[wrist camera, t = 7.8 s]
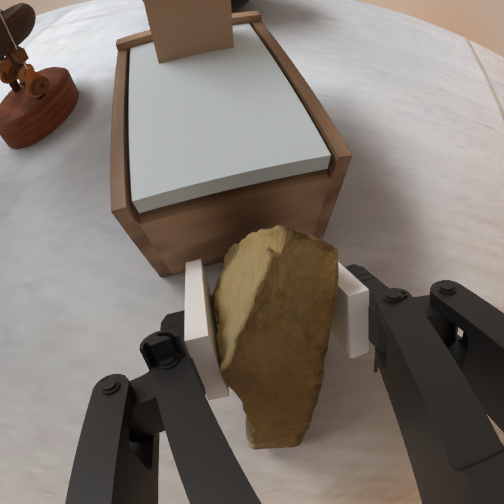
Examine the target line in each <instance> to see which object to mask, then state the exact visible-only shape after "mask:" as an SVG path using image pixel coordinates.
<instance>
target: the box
mask: <svg viewBox="0 0 504 504" xmlns="http://www.w3.org/2000/svg"><path fill="white" fill-rule="evenodd" d="M247 23H249V24H250V26H251V27H252V28H253V30H254V31H255V33H256V34H257V35H258V37H259V38H260V40H261V41H262V43H263V44H264V46H265V47H266V48H267V50H268V51H269V53H270V54H271V56H272V57H273V59H274V60H275V62H276V63H277V65H278V66H279V68H280V70H281V71H282V73H283V74H284V76H285V77H286V79H287V80H288V82H289V84H290V85H291V87H292V88H293V90H294V92H295V93H296V95H297V97H298V98H299V100H300V101H301V103H302V105H303V107H304V108H305V110H306V112H307V113H308V115H309V117H310V118H311V120H312V122H313V124H314V125H315V127H316V129H317V131H318V132H319V134H320V136H321V138H322V140H323V141H324V143H325V145H326V147H327V149H328V150H329V152H330V154H331V157H330V161H329V165H328V168H327V169H323V170H318V171H313V172H308V173H303V174H298V175H293V176H288V177H284V178H279V179H274V180H270V181H265V182H261V183H256V184H252V185H247V186H243V187H239V188H234V189H230V190H226V191H222V192H218V193H214V194H210V195H206V196H202V197H198V198H194V199H190V200H186V201H182V202H178V203H175V204H171V205H167V206H163V207H160V208H156V209H153V210H149V211H145V212H142V213H139V212H138V211H137V209H136V207H135V206H134V204H133V202H132V194H131V178H130V156H129V69H130V49H131V48H133V47H136V46H140V45H143V44H147V43H150V42H153V38H152V34H151V30H148V31H144V32H141V33H137V34H134V35H131V36H127V37H124V38H121V39H118V40H117V42H116V46H117V49H118V55H117V64H116V73H115V83H114V95H113V109H112V128H111V212H112V213H113V214H114V216H115V217H116V219H117V220H118V221H119V223H120V224H121V226H122V227H123V228H124V230H125V231H126V232H127V234H128V235H129V236H130V238H131V239H132V240H133V242H134V243H135V244H136V246H137V247H138V248H139V250H140V251H141V252H142V254H143V255H144V256H145V258H146V259H147V260H148V261H149V263H150V264H151V265H152V267H153V268H154V269H155V270H156V272H157V273H158V274H159V275H160V277H164V276H168V275H172V274H176V273H180V272H184V271H186V263H187V262H191V261H195V260H199V259H201V261H202V265H203V266H207V265H211V264H215V263H219V262H223V261H224V257H225V255H226V254H227V252H228V250H229V248H231V247H232V246H233V244H239V243H240V242H241V240H242V239H245V238H246V237H247V235H248V234H250V233H253V232H258V230H260V229H272V228H273V227H275V226H277V225H280V226H285V227H290V228H296V229H299V230H303V231H305V232H307V233H309V234H312V235H314V236H315V237H321V236H323V235H324V232H325V229H326V227H327V224H328V221H329V219H330V216H331V213H332V211H333V208H334V205H335V202H336V200H337V197H338V194H339V191H340V188H341V186H342V183H343V180H344V177H345V174H346V171H347V168H348V166H349V163H350V160H351V157H352V154H351V152H350V151H349V149H348V147H347V146H346V144H345V142H344V140H343V139H342V137H341V135H340V134H339V132H338V130H337V129H336V127H335V126H334V124H333V122H332V121H331V119H330V117H329V116H328V114H327V113H326V111H325V110H324V108H323V106H322V105H321V103H320V102H319V100H318V99H317V97H316V96H315V94H314V93H313V91H312V90H311V88H310V87H309V85H308V84H307V82H306V81H305V79H304V78H303V77H302V75H301V74H300V72H299V71H298V69H297V68H296V67H295V65H294V64H293V62H292V61H291V60H290V58H289V57H288V56H287V54H286V53H285V52H284V50H283V49H282V47H281V46H280V45H279V44H278V42H277V41H276V40H275V38H274V37H273V36H272V34H271V33H270V32H269V31H268V29H267V28H266V27H265V26H264V24H263V23H262V22H261V14H260V13H259V12H258V11H247V12H239V13H232V25H239V24H247Z"/></svg>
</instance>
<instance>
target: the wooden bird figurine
mask: <svg viewBox="0 0 504 504" xmlns="http://www.w3.org/2000/svg"><path fill="white" fill-rule="evenodd" d="M35 18H36V17H35V12H34V10H33V8H32V7H31V6H30V5H28V4H25V3H19V4H17V5H14V6H12V7H10V8H8V9H6V10H5V11H3V10H2V11H1V9H0V80H1V81H2V82H3V83H7V84H8V83H9V85H10V86H11V88H12V90H11V91H10V92H9V93H8V95H7V96H6V97H5V98H4V99H3V101H2V102H1V104H0V135H1V137H2V138H3V139H4V141H5V142H6V143H7V145H8V146H9V147H11V148H15V149H18V148H24V147H27V146H30V145H32V144H34V143H36V142H38V141H39V140H41V139H43V138H44V137H46V136H47V135H49V134H50V133H51V132H52V131H54V130H55V129H56V128H57V127H58V126H59V125H60V124H61V123H62V122H63V121H64V120H65V119H66V118H67V117H68V116H69V114H70V113H71V112H72V110H73V109H74V107H75V105H76V103H77V100H78V91H77V89H76V86H75V84H74V82H73V80H72V78H71V76H70V74H69V71H68V70H67V69H65V68H59V67H50V68H46V69H43V70H41V71H38V72H35V71H33V70H34V68H33V66H32V65H31V64H26V63H25V61H26V60H27V59H28V56H27V54H26V51H25V49H23V48H21V47H19V46H18V45H19V44H20V43H21V42H23V41H24V40H25V39H26V38H27V37H28V35H29V34H30V33H31V31H32V29H33V27H34V24H35ZM4 56H6V57H5V58H4ZM17 79H19V81H20V83H19V84H18V82H17Z"/></svg>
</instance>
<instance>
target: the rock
mask: <svg viewBox="0 0 504 504" xmlns="http://www.w3.org/2000/svg"><path fill="white" fill-rule="evenodd" d="M338 282H339V267H338V249H336V248H335V247H333V246H331V245H330V244H328V243H326V242H325V241H323V240H321V239H319V238H317V237H315V236H314V235H312V234H309V233H307V232H305V231H303V230H299V229H296V228H290V227H285V226H280V225H277V226H275V227H273V228H272V229H260V230H258V232H253V233H250V234H248V235H247V237H246V238H245V239H242V240H241V242H240V243H239V244H233V246H232V247H231V248H229V250H228V252H227V254H226V255H225V257H224V264H223V270H222V271H221V274H220V276H219V278H218V280H217V285H216V288H215V290H214V292H213V294H212V296H211V297H212V302H213V304H214V306H213V307H214V311H215V313H216V316H217V324H218V332H217V337H216V340H217V345H218V351H219V356H220V361H221V366H220V372H221V377H222V379H223V382H224V384H225V385H226V386H228V387H230V388H231V389H232V390H233V391H234V392H235V393H236V394H237V396H238V397H239V398H240V399H241V401H242V403H243V409H244V412H245V414H246V435H247V440H248V442H249V446H250V447H252V449H254V450H255V449H264V448H282V447H295V446H298V445H300V444H301V441H302V438H303V436H304V434H305V431H307V430H308V428H309V425H310V423H311V419H312V413H313V409H314V407H315V406H316V404H317V400H318V394H319V392H320V389H321V385H322V381H323V377H324V357H325V355H326V352H327V350H328V340H329V335H330V329H331V326H332V322H333V317H334V307H335V299H336V293H337V287H338Z"/></svg>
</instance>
